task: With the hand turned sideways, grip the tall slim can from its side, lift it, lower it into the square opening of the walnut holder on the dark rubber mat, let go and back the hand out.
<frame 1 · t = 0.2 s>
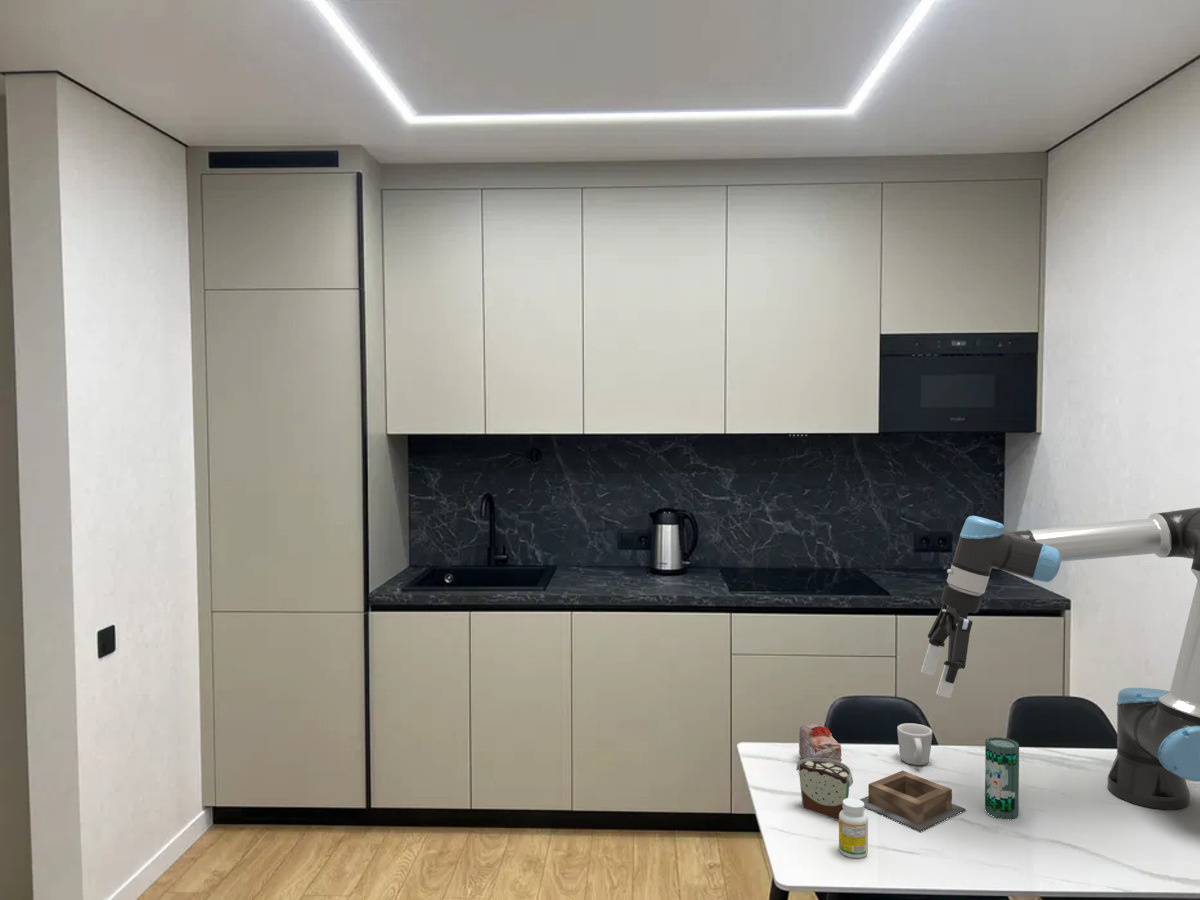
hand: (934, 684, 179), 27 cm above the table, tool tilted 15°, fingers open, 13 cm apart
food item: (818, 768, 202), on the table
can: (1001, 814, 178), on the table
holder: (909, 806, 181), on the table
supplement bottle: (853, 852, 162), on the table
food container: (829, 811, 180), on the table
cup: (915, 764, 204), on the table
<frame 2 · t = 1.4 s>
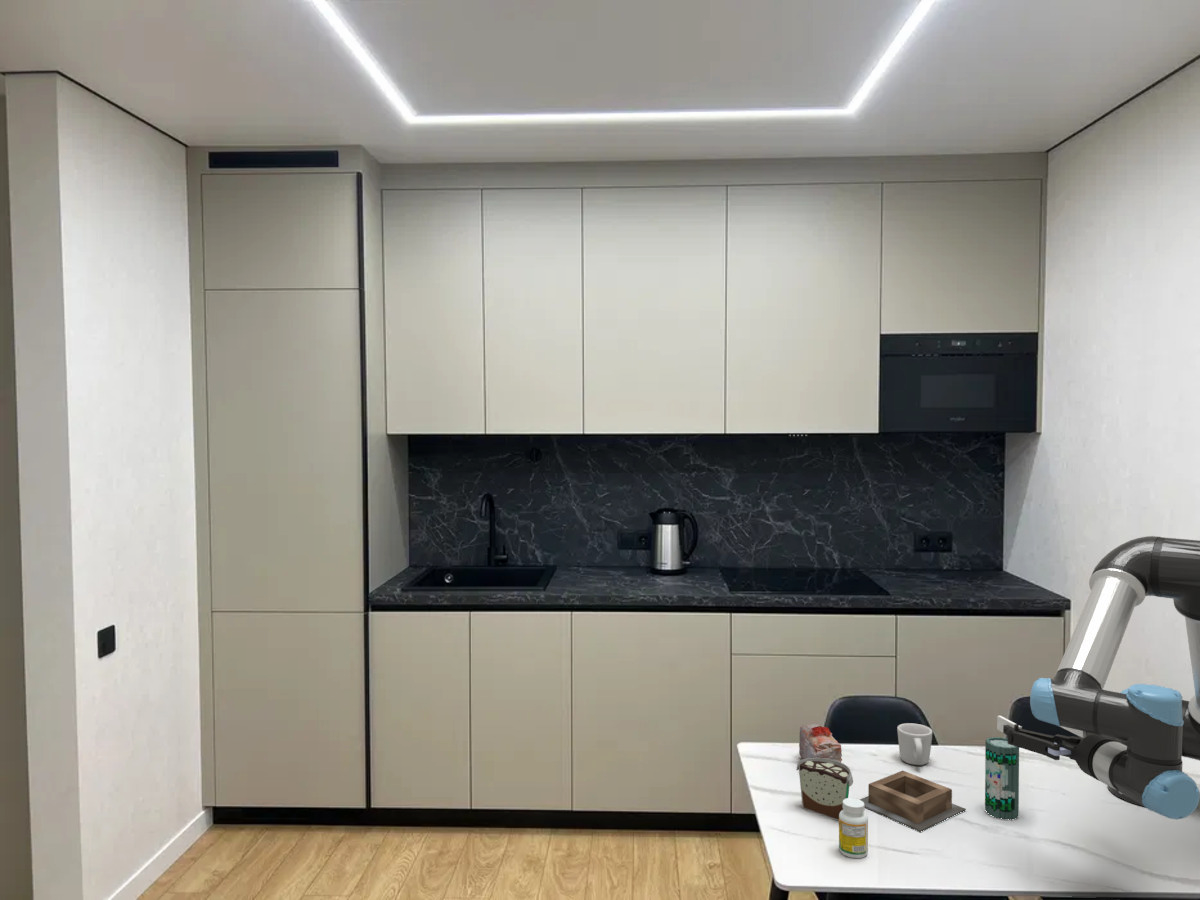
hand: (1030, 721, 168), 23 cm above the table, tool horizontal, fingers open, 13 cm apart
nothing on the table moved.
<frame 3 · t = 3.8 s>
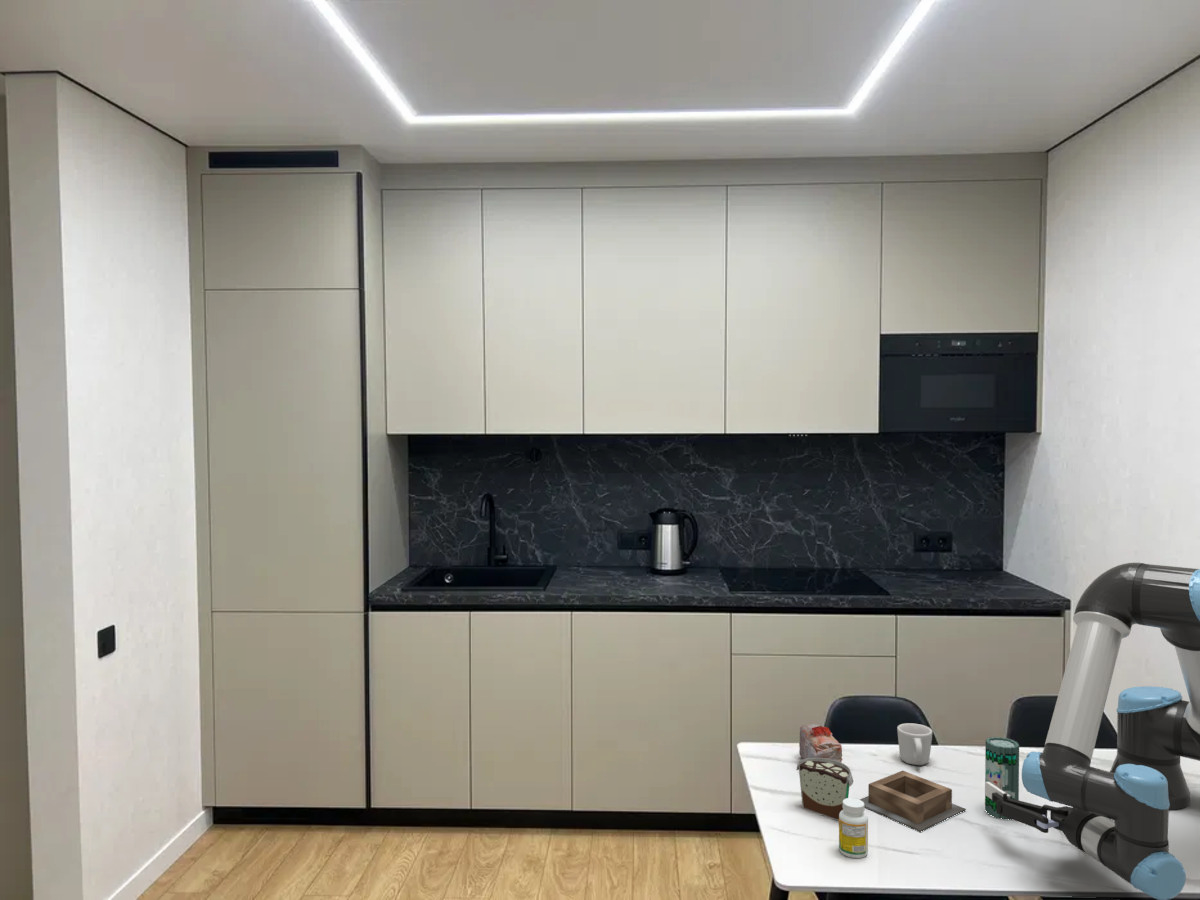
hand: (1017, 785, 172), 8 cm above the table, tool horizontal, fingers open, 13 cm apart
nothing on the table moved.
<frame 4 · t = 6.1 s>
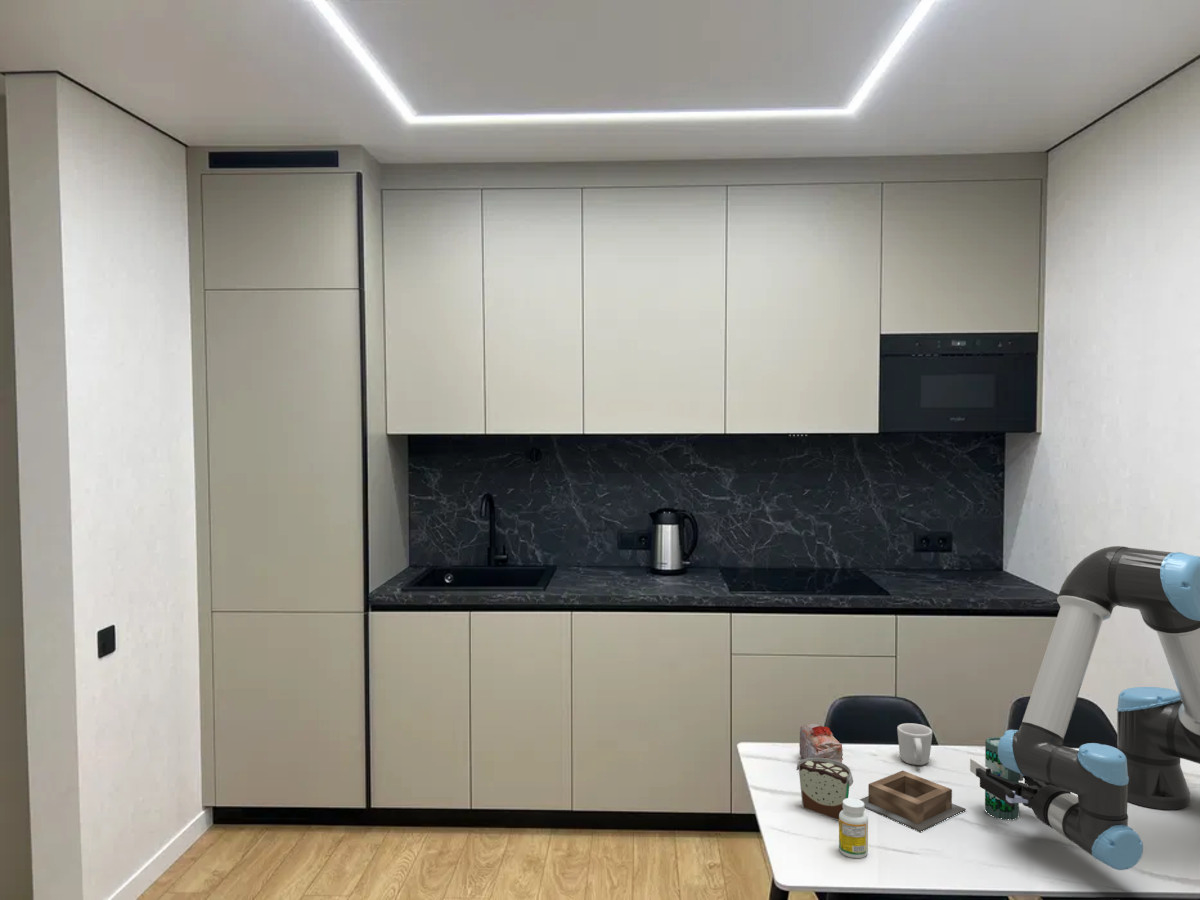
hand: (986, 763, 182), 9 cm above the table, tool horizontal, fingers closed on can, 6 cm apart
can: (1001, 814, 178), on the table, touching gripper
everything else where it was.
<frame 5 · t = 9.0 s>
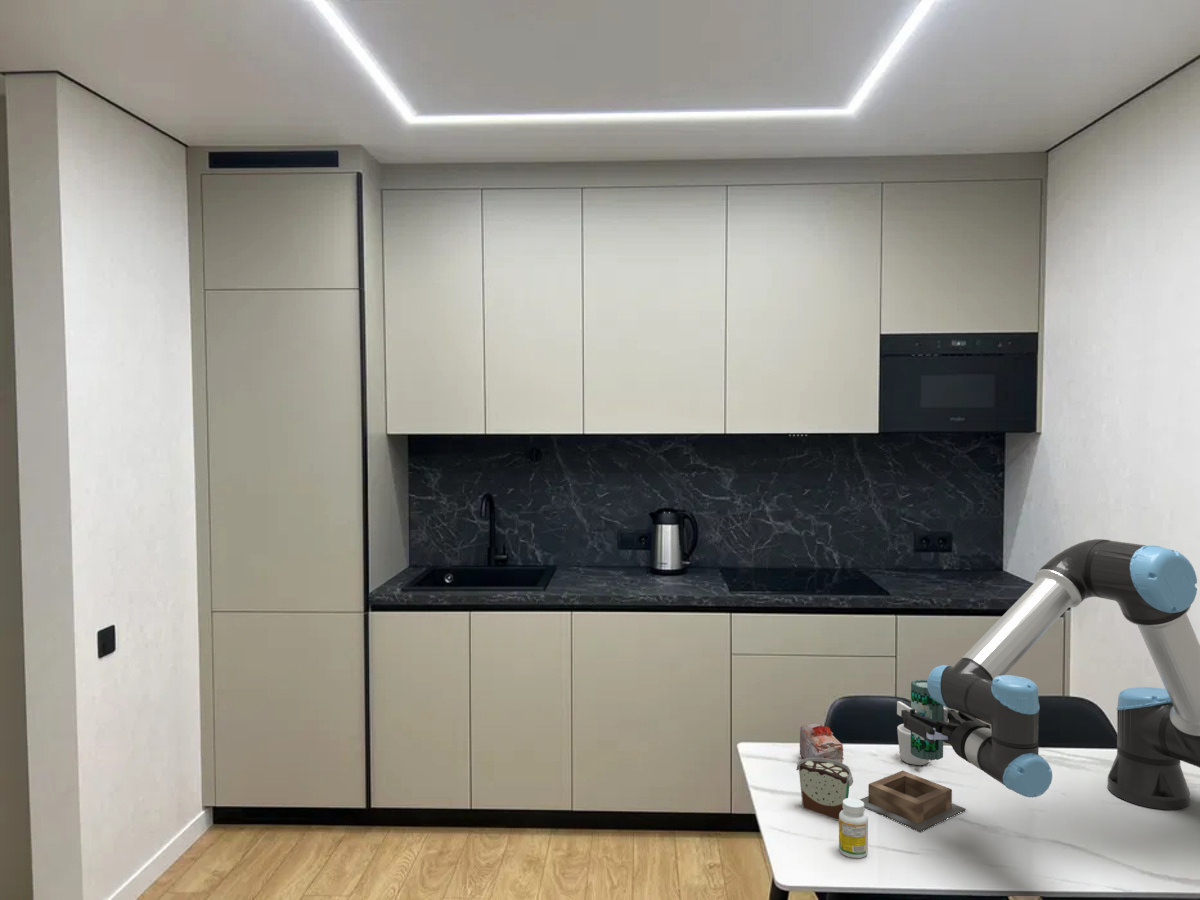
hand: (913, 706, 184), 20 cm above the table, tool horizontal, fingers closed on can, 6 cm apart
can: (926, 755, 179), point 12 cm above the table, touching gripper
everything else where it was.
when the fingers open (10 cm above the table, at t = 12.0 s): can drops 1 cm, resting on holder.
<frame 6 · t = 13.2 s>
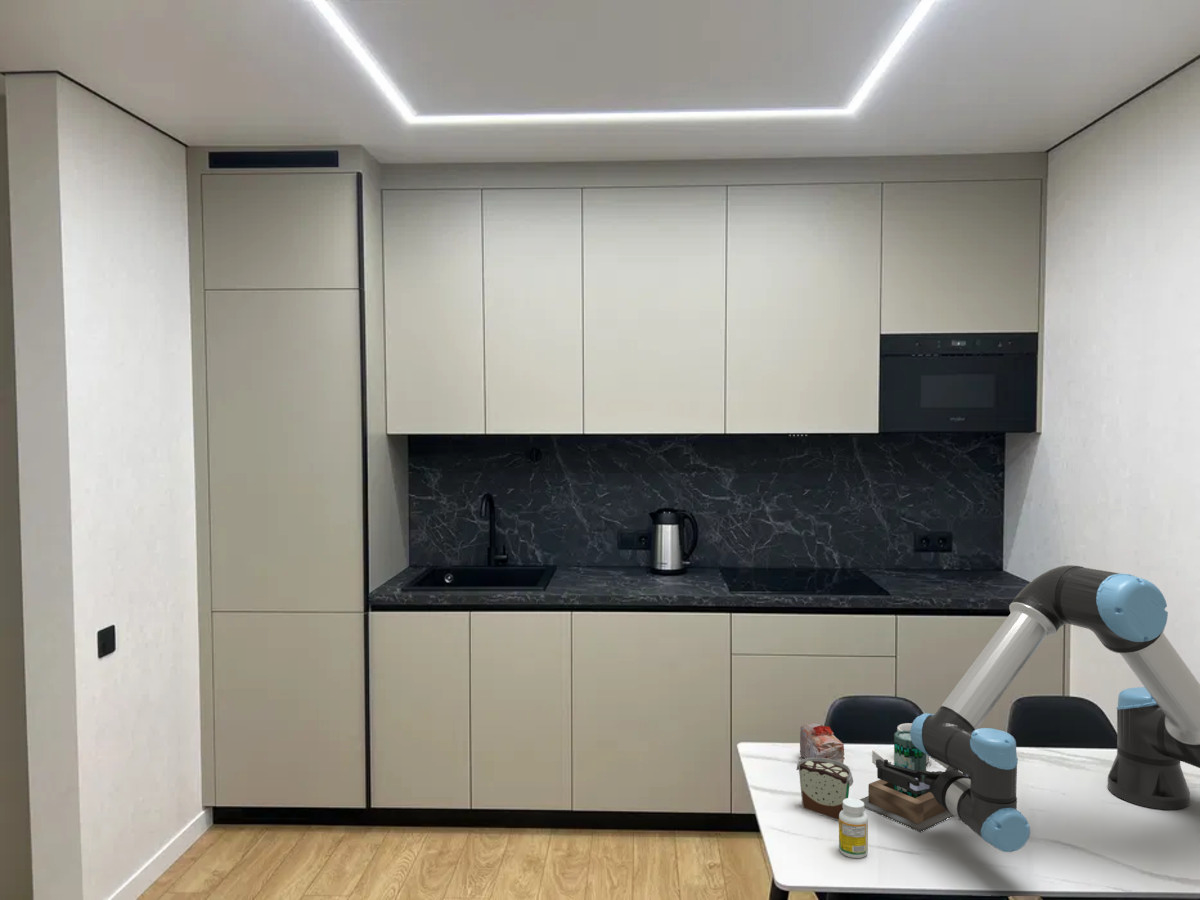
hand: (903, 753, 183), 10 cm above the table, tool horizontal, fingers open, 13 cm apart
can: (909, 806, 181), resting on holder
everything else where it was.
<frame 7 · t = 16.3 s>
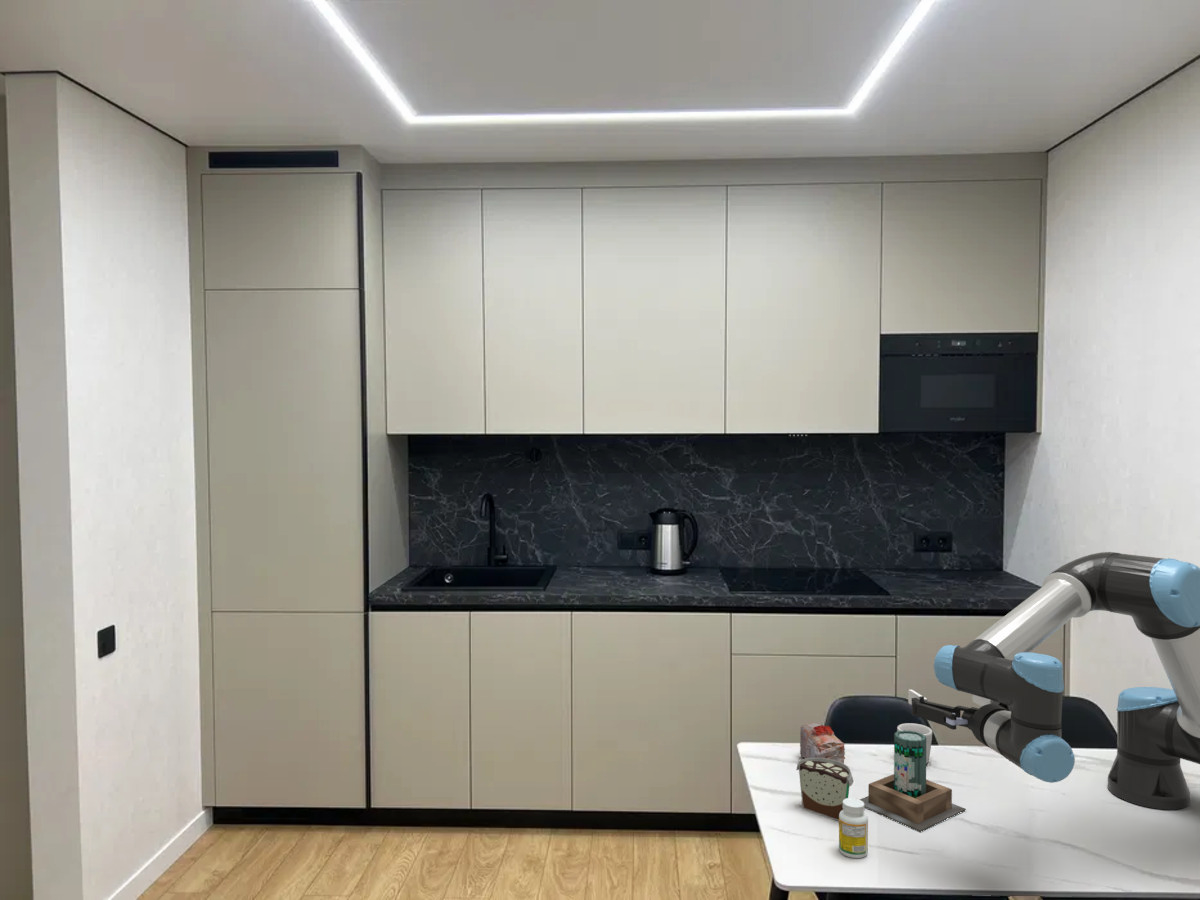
hand: (942, 695, 172), 27 cm above the table, tool horizontal, fingers open, 13 cm apart
nothing on the table moved.
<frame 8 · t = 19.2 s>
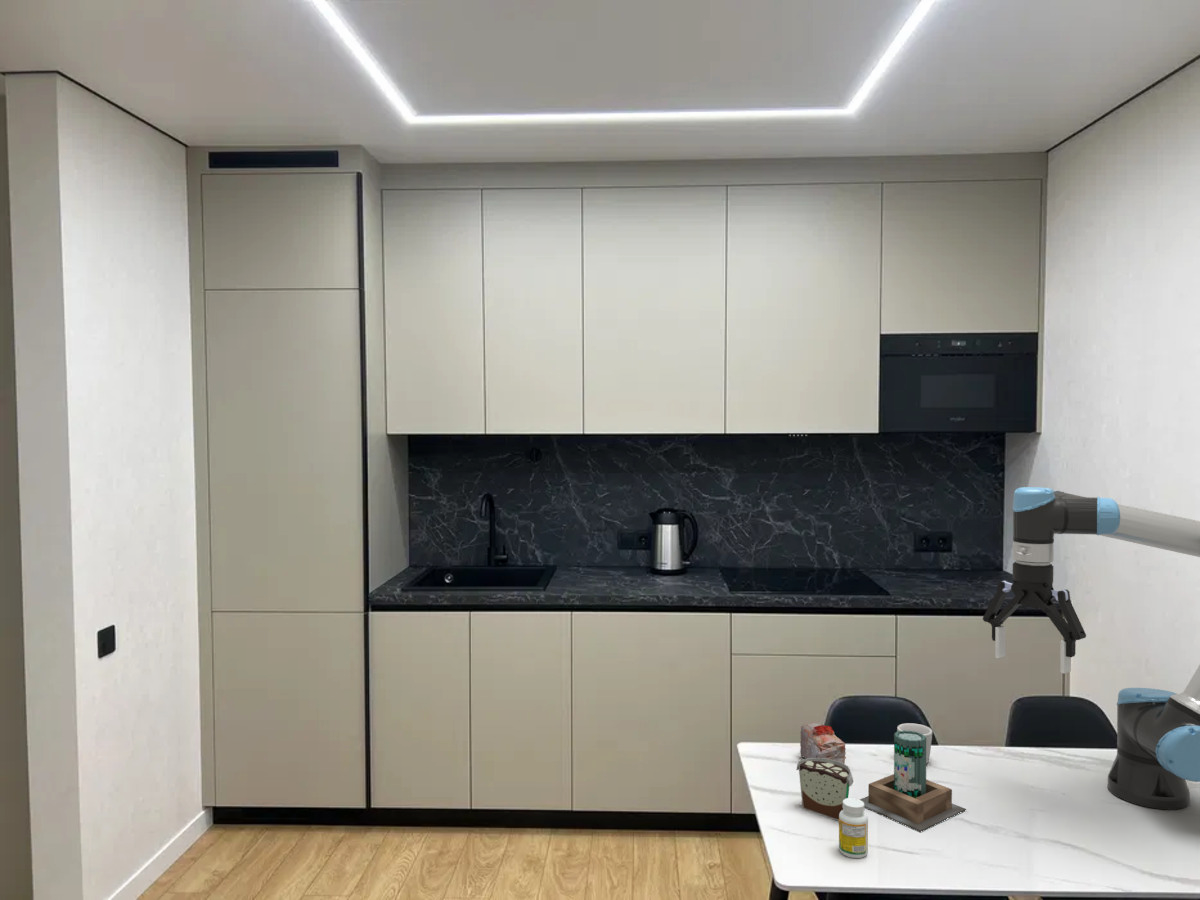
hand: (1031, 664, 176), 32 cm above the table, tool pointing down, fingers open, 13 cm apart
at the end: can 0.0 cm off-centre on the holder, point 0.2 cm above the holder's base; can tilted 0°; the gripper is holding nothing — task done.
